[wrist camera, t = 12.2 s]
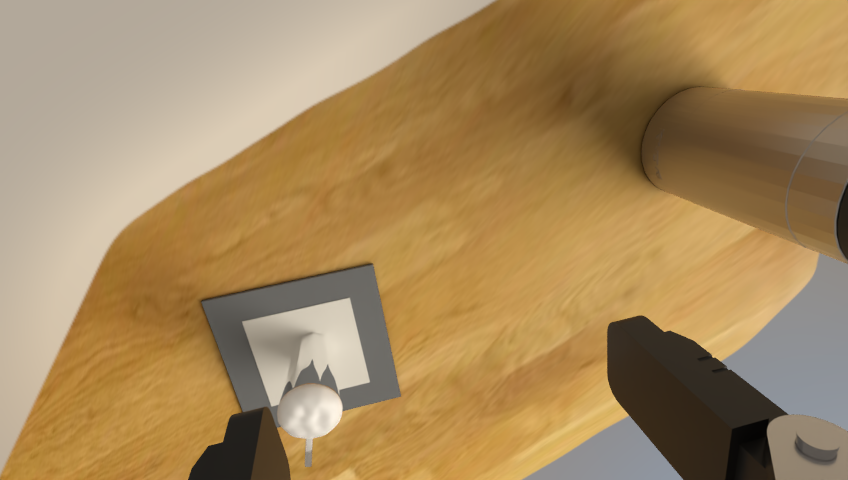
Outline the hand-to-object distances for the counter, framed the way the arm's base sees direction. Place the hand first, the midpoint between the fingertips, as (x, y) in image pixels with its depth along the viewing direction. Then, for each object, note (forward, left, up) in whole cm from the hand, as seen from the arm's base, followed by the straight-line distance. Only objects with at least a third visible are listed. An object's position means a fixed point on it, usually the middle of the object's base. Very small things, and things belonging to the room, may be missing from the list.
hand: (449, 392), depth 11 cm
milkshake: (+8, +16, -28) cm, 33 cm away
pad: (+8, +16, -28) cm, 33 cm away
